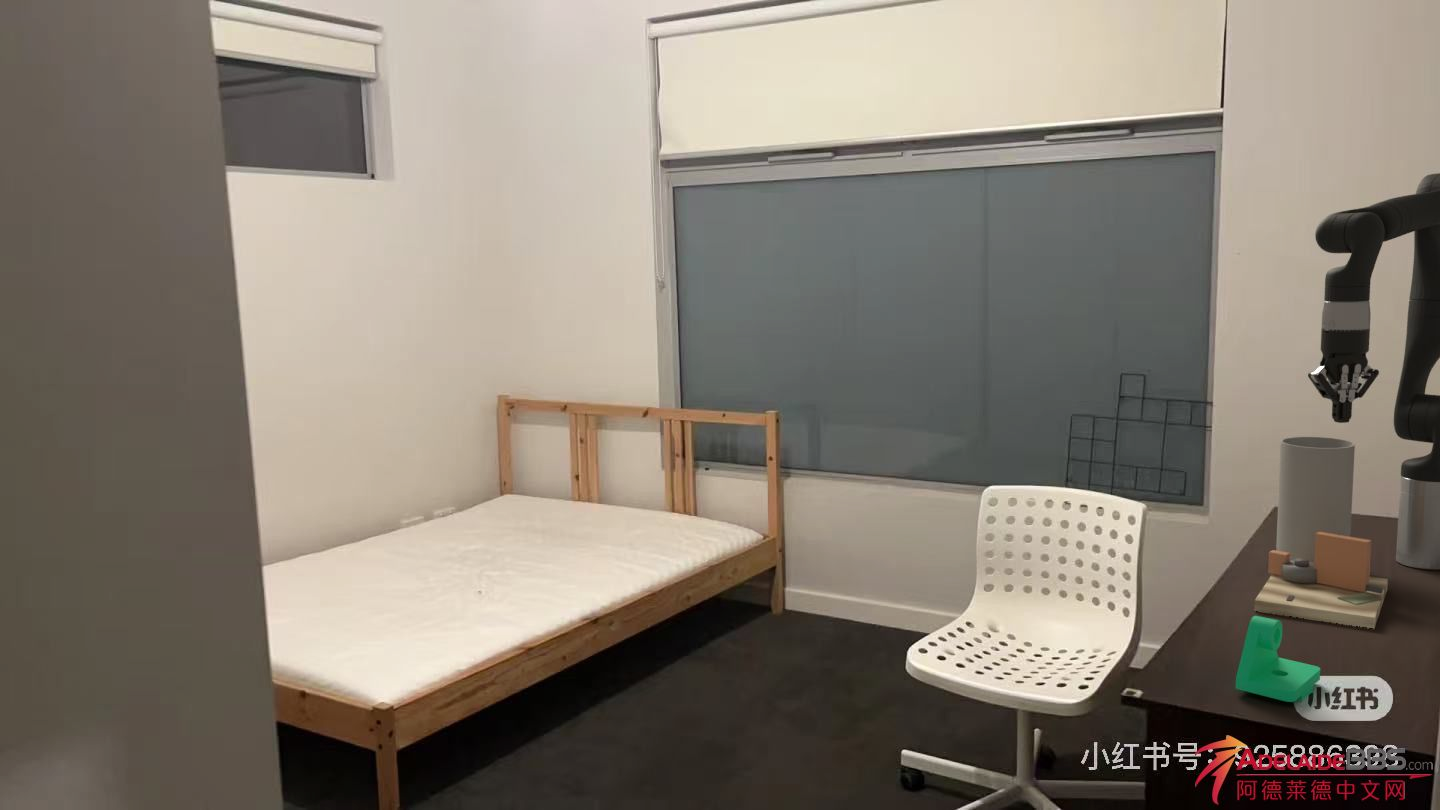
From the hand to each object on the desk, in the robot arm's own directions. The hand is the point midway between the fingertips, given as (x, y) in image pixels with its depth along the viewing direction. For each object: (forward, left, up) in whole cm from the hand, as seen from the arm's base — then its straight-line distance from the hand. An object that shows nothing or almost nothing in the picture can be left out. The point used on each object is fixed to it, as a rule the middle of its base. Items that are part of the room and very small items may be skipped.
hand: (1341, 421), depth 196 cm
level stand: (+7, +6, -31) cm, 32 cm away
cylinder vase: (-4, -11, -31) cm, 33 cm away
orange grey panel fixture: (+5, +4, -28) cm, 29 cm away
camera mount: (+39, +38, -31) cm, 63 cm away
